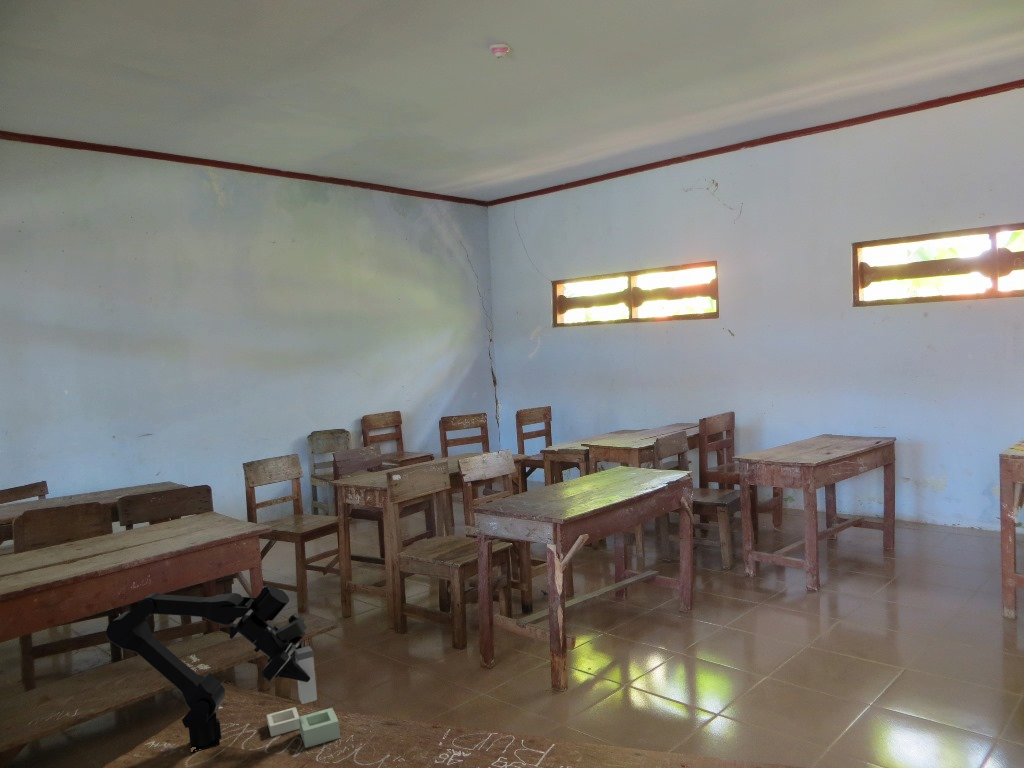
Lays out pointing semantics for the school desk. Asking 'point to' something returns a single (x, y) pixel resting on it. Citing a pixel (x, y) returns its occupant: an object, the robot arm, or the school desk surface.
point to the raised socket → (319, 727)
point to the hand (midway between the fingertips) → (311, 675)
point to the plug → (307, 664)
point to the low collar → (283, 721)
